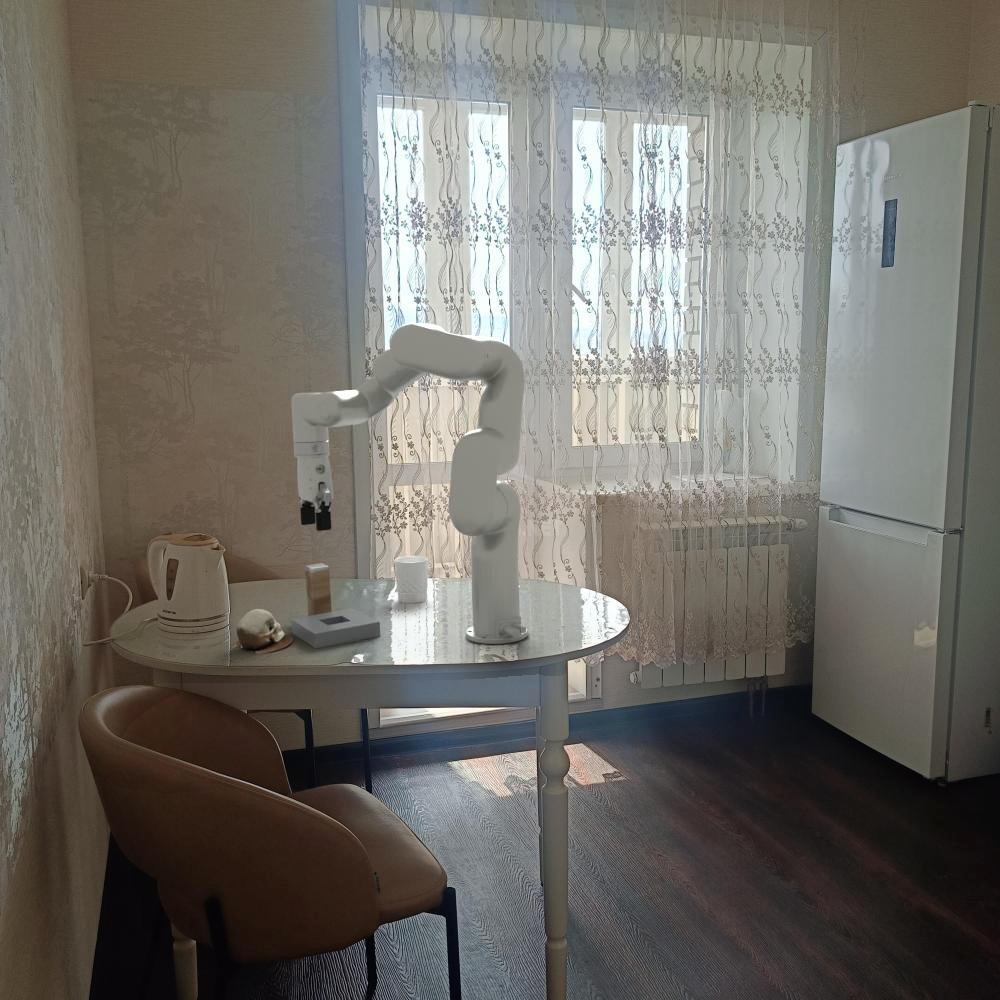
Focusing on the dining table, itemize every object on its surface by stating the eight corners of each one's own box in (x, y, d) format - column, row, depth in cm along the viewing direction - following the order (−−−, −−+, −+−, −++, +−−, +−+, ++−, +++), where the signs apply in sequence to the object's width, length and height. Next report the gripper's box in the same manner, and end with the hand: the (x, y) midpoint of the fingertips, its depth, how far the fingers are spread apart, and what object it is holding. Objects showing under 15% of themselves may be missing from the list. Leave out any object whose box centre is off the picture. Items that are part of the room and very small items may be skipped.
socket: (380, 636, 187) (379, 621, 187) (315, 648, 180) (314, 633, 179) (353, 621, 199) (352, 608, 198) (291, 632, 192) (290, 618, 191)
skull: (263, 628, 192) (283, 597, 187) (288, 666, 188) (309, 635, 184) (215, 640, 183) (235, 608, 178) (240, 681, 179) (261, 648, 174)
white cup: (407, 595, 222) (405, 554, 220) (435, 597, 218) (433, 556, 217) (389, 602, 215) (387, 561, 213) (418, 605, 211) (416, 563, 210)
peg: (332, 619, 202) (328, 566, 200) (314, 622, 199) (311, 568, 198) (325, 615, 205) (322, 563, 203) (308, 618, 203) (305, 565, 201)
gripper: (342, 450, 192) (346, 530, 194) (314, 446, 207) (318, 520, 209) (308, 453, 188) (313, 534, 191) (282, 448, 203) (286, 524, 205)
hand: (316, 527), depth 200 cm, fingers open, 9 cm apart
